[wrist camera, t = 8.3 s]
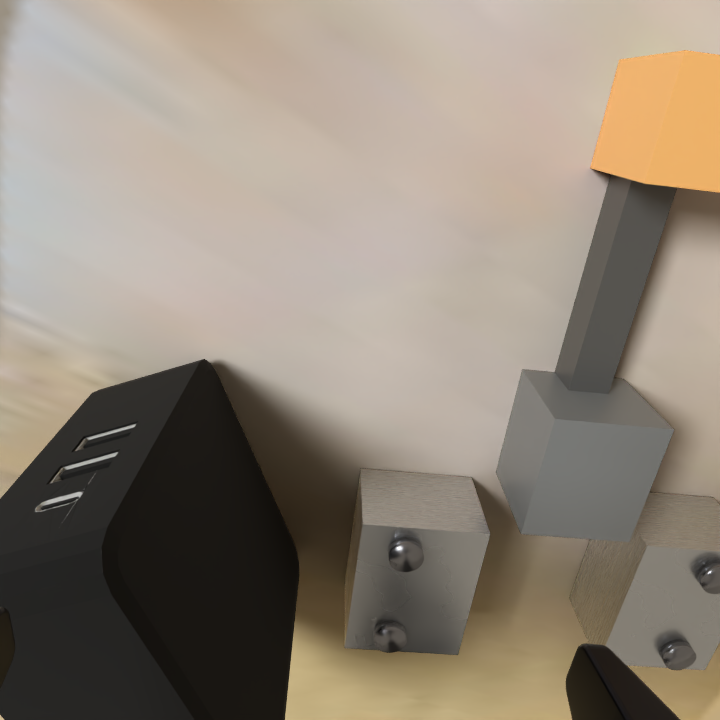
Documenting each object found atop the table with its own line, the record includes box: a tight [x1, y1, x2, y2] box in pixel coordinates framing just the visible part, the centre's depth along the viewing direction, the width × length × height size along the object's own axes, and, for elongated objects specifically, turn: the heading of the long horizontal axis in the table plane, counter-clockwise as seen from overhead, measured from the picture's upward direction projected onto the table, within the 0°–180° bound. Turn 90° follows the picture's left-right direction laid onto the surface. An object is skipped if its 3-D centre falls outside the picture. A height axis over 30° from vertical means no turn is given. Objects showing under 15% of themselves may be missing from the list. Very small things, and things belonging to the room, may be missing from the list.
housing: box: [344, 468, 720, 670], centre depth 22 cm, size 6×14×4 cm, turn 83°
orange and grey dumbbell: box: [496, 50, 720, 542], centre depth 18 cm, size 16×4×4 cm, turn 173°
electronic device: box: [0, 359, 299, 720], centre depth 18 cm, size 4×10×10 cm, turn 17°
